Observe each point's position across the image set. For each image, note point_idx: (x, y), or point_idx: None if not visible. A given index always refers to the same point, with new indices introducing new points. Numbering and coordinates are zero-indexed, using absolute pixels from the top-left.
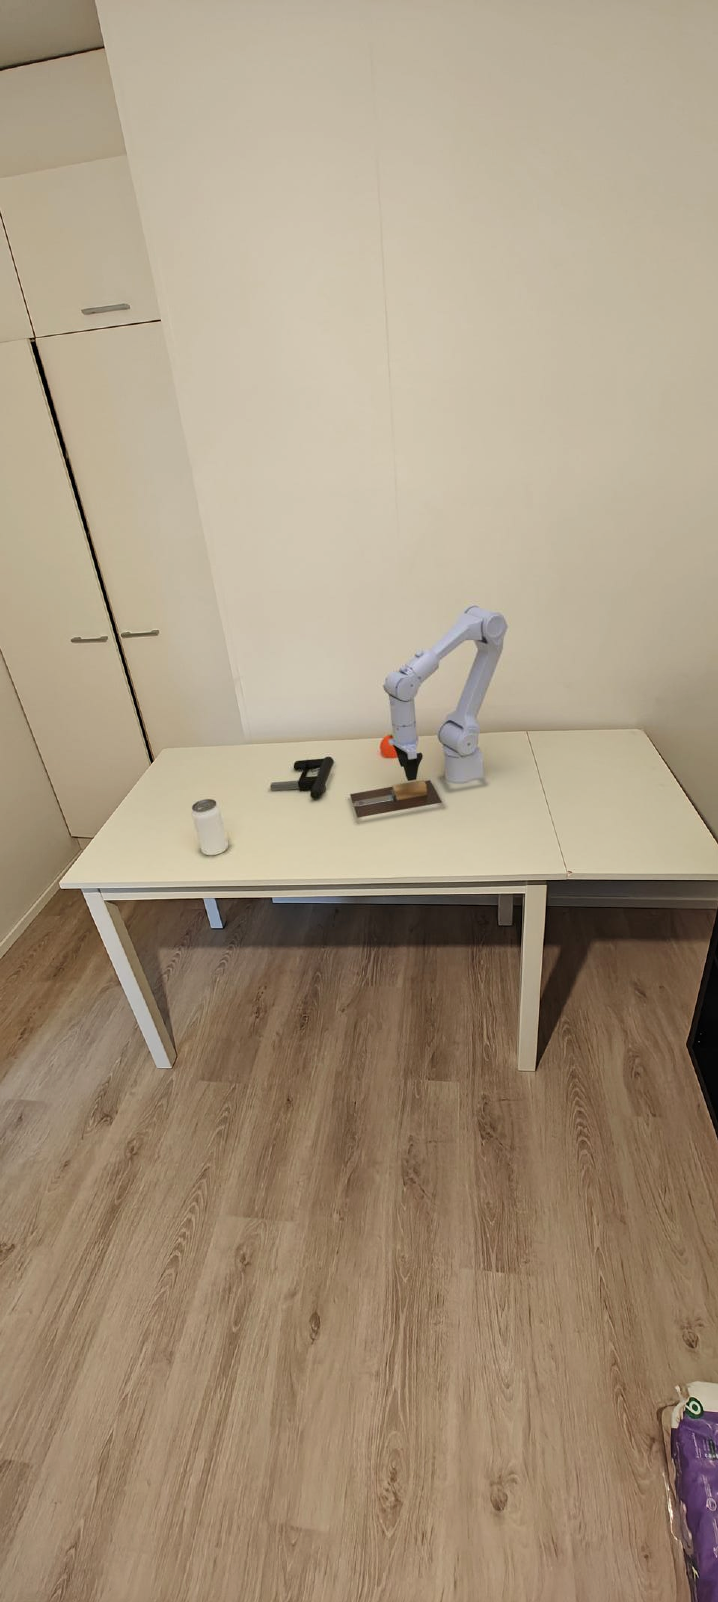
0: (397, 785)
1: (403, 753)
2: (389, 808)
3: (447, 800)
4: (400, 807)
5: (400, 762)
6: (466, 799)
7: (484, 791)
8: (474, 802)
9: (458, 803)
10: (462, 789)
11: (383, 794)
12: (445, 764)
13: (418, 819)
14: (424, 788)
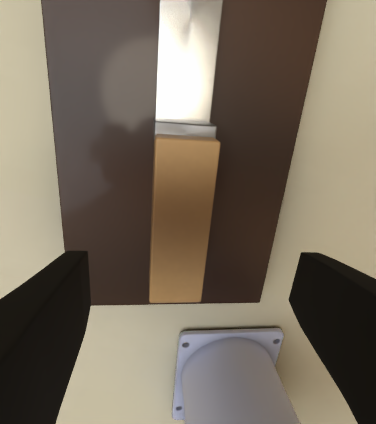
0: (206, 170)
1: (372, 360)
2: (84, 72)
3: (123, 313)
4: (77, 133)
5: (322, 272)
6: (107, 361)
7: (137, 406)
8: (80, 376)
9: (89, 338)
10: (175, 363)
11: (243, 86)
12: (251, 412)
13: (4, 187)
14: (149, 283)
